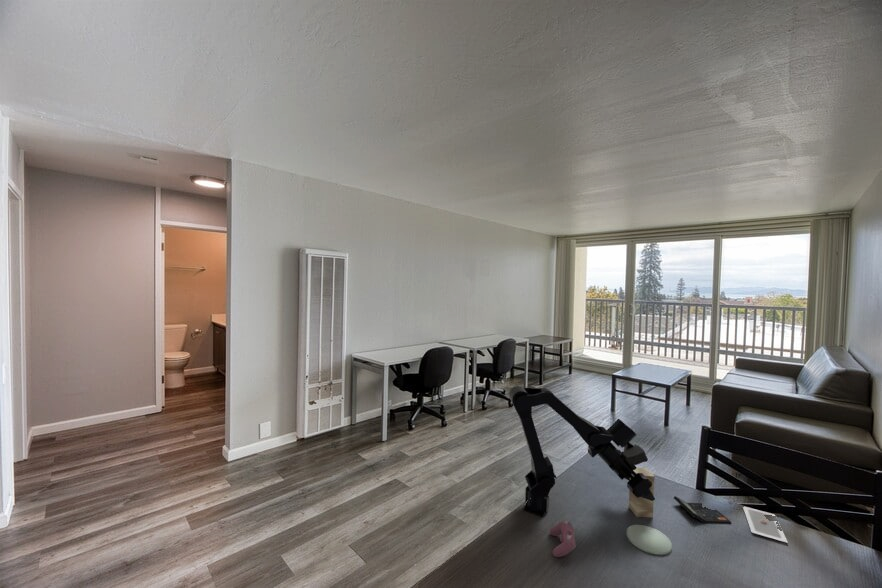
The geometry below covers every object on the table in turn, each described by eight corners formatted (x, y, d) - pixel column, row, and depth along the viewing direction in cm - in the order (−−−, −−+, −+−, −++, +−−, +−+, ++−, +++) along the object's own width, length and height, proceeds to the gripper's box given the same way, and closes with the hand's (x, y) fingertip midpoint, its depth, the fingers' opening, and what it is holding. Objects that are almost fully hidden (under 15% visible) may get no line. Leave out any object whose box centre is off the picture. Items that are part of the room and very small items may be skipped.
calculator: (731, 524, 110) (731, 514, 110) (692, 523, 111) (692, 513, 111) (708, 505, 120) (709, 496, 120) (673, 504, 120) (673, 495, 120)
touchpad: (751, 535, 106) (751, 528, 106) (742, 509, 118) (742, 502, 118) (787, 546, 102) (788, 539, 102) (774, 517, 114) (774, 511, 114)
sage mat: (624, 544, 101) (624, 541, 101) (628, 522, 110) (629, 520, 110) (671, 561, 95) (671, 558, 95) (671, 537, 104) (672, 534, 104)
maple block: (636, 516, 113) (638, 475, 112) (628, 507, 118) (630, 467, 117) (653, 517, 113) (654, 476, 112) (644, 507, 118) (645, 467, 117)
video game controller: (567, 566, 94) (580, 544, 94) (551, 555, 95) (564, 534, 94) (562, 540, 104) (574, 520, 103) (547, 530, 105) (559, 511, 104)
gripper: (646, 452, 105) (683, 491, 105) (616, 427, 124) (648, 459, 124) (618, 478, 106) (655, 516, 106) (592, 449, 124) (624, 482, 124)
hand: (645, 491), depth 115 cm, fingers open, 9 cm apart
